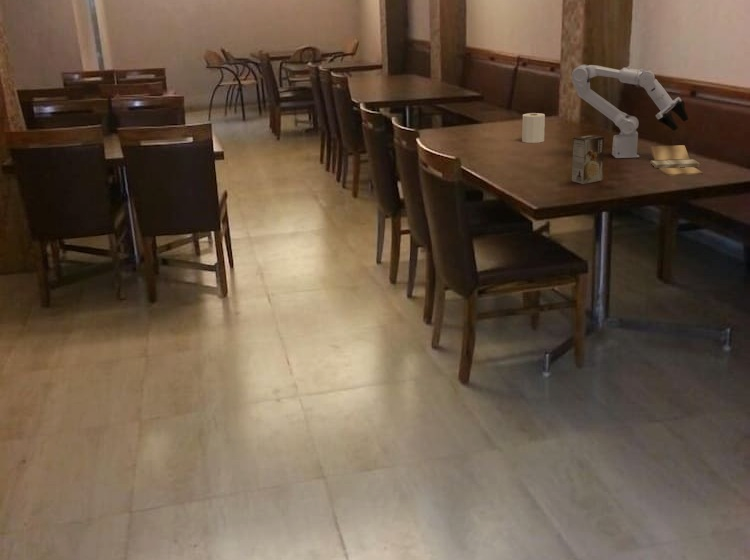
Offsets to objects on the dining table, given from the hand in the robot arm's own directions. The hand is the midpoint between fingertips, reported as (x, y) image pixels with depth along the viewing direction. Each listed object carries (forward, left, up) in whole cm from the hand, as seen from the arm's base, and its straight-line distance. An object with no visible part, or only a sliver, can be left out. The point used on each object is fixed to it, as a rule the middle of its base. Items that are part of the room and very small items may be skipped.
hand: (681, 124), depth 301 cm
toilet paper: (-51, +47, -14) cm, 71 cm away
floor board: (-5, -13, -13) cm, 19 cm away
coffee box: (-42, -33, -13) cm, 55 cm away
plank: (-6, -24, -14) cm, 29 cm away
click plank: (-5, -4, -11) cm, 13 cm away
